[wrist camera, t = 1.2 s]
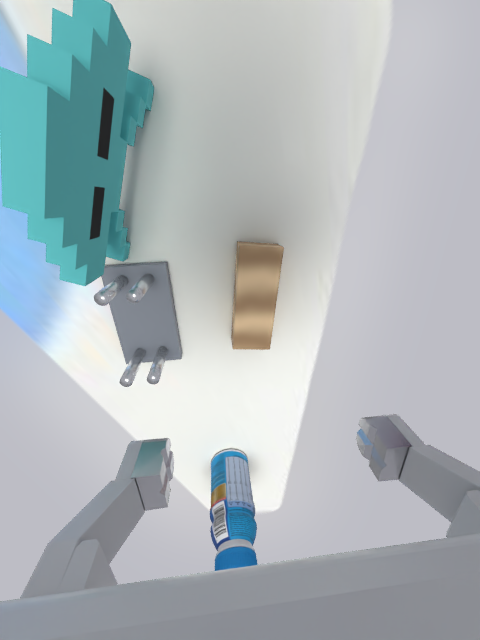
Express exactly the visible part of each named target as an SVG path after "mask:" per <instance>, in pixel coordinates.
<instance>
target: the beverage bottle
mask: <svg viewBox="0 0 480 640" xmlns="http://www.w3.org/2000/svg"><path fill="white" fill-rule="evenodd" d="M254 516H255V506H254V503H253V497H252V490H251V483H250V476H249V468H248V460H247V457H246V455H245V454H244V453H243V452H241V451H239V450H234V449H228V450H224V451H221V452H219V453H217V454H216V455H215V456H214V457H213V459H212V462H211V509H210V519H211V522H212V526H211V537H212V541H213V543H214V545H215V547H216V549H217V551H218V553H217V554H216V558H215V571H218V570H225V569H232V568H239V567H246V566H253V565H257V560H256V553H255V551H254V549H253V548H252V546H253V543H254V540H255V536H256V530H257V527H256V526H257V525H256V522H255V520H254Z"/></svg>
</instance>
